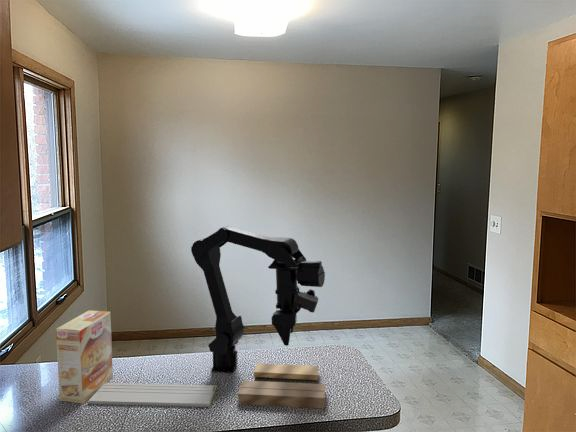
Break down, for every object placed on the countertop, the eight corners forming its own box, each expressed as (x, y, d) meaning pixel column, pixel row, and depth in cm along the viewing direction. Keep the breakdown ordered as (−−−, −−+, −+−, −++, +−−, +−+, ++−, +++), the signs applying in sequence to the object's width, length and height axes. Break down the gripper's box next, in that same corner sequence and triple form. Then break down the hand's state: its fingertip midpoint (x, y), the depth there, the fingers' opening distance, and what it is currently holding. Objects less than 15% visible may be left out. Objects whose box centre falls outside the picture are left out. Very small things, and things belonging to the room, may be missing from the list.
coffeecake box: (83, 404, 119) (79, 330, 116) (58, 401, 120) (53, 328, 117) (114, 376, 133) (111, 310, 131) (91, 374, 135) (88, 309, 132)
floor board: (238, 404, 119) (238, 393, 119) (244, 387, 128) (244, 377, 127) (324, 408, 117) (324, 397, 117) (324, 391, 126) (325, 381, 125)
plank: (253, 381, 132) (253, 372, 131) (256, 372, 137) (256, 363, 137) (317, 384, 130) (317, 375, 130) (318, 375, 136) (318, 366, 135)
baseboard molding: (108, 383, 131) (88, 406, 119) (107, 373, 130) (88, 395, 119) (218, 386, 130) (209, 409, 118) (218, 376, 129) (209, 398, 117)
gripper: (313, 294, 119) (315, 353, 120) (318, 276, 137) (319, 327, 139) (270, 294, 120) (272, 352, 122) (280, 276, 138) (282, 326, 140)
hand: (288, 338), depth 131 cm, fingers open, 9 cm apart
